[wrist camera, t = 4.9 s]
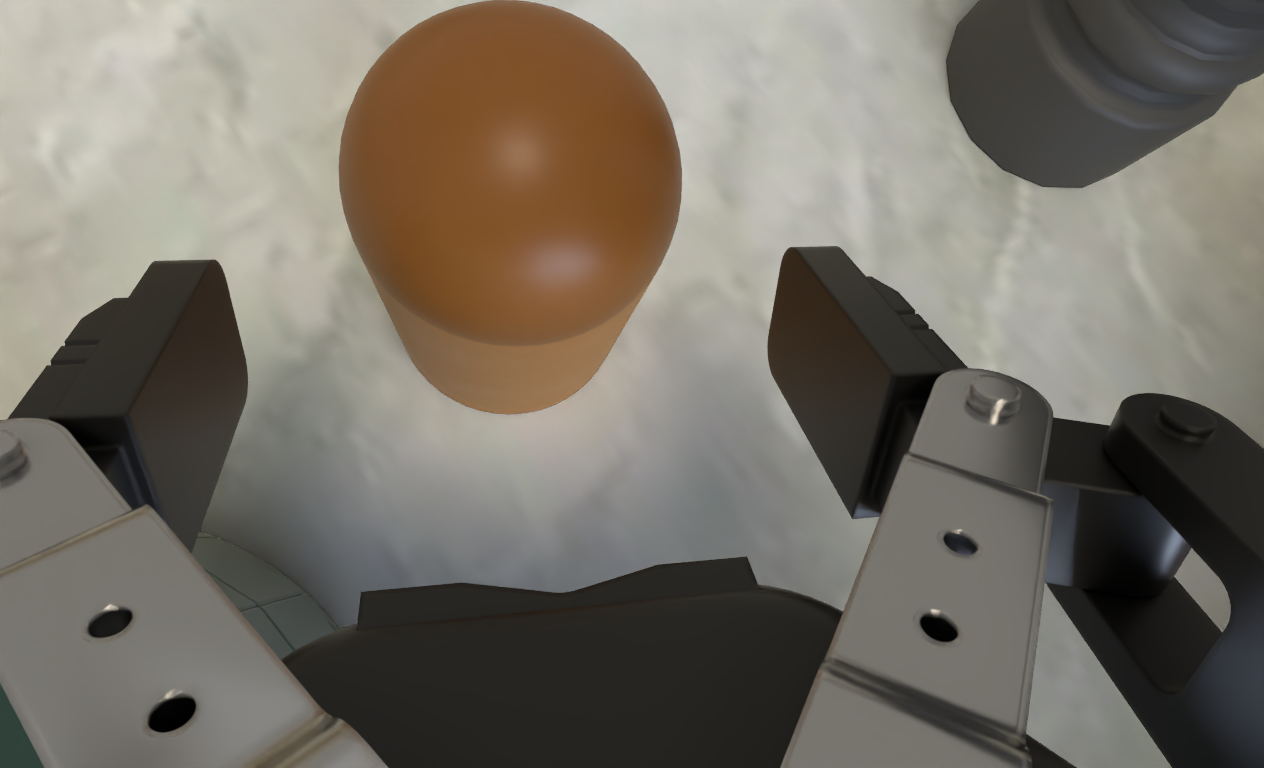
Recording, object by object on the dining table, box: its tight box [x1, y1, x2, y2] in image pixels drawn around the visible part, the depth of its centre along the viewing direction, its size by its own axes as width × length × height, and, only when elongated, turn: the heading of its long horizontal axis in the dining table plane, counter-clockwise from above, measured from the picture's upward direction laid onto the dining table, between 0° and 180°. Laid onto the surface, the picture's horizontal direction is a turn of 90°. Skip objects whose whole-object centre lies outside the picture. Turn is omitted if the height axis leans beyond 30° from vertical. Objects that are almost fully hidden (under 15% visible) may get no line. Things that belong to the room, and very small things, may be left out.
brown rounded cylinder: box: [339, 0, 682, 414], centre depth 15 cm, size 5×5×10 cm
